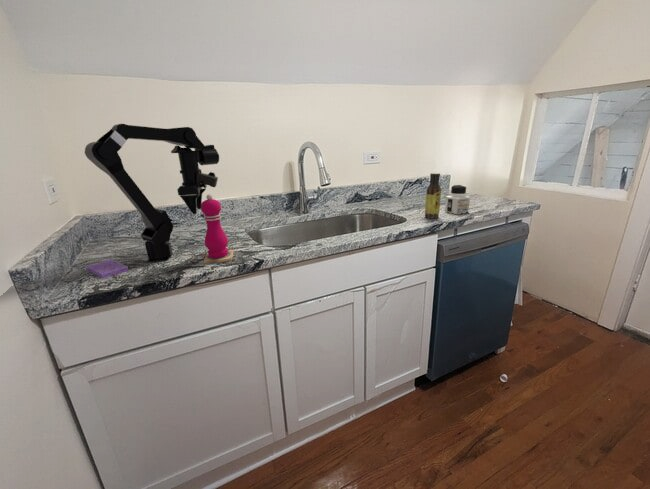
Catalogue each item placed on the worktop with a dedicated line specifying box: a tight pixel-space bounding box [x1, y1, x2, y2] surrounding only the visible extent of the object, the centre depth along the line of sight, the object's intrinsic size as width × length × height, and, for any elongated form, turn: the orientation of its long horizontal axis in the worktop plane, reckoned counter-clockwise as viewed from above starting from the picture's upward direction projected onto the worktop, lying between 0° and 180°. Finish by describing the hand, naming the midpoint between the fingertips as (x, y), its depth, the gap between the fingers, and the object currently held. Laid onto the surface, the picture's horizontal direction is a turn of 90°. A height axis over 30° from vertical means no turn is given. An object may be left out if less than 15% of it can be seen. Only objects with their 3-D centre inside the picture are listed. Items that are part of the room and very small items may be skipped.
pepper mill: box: [200, 193, 229, 258], centre depth 98 cm, size 7×7×20 cm
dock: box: [203, 249, 234, 264], centre depth 101 cm, size 8×8×1 cm
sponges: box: [86, 258, 129, 279], centre depth 95 cm, size 7×13×2 cm, turn 54°
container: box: [444, 184, 471, 215], centre depth 148 cm, size 8×8×13 cm
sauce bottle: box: [424, 172, 442, 219], centre depth 139 cm, size 6×6×20 cm
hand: (197, 211), depth 110 cm, fingers open, 9 cm apart
